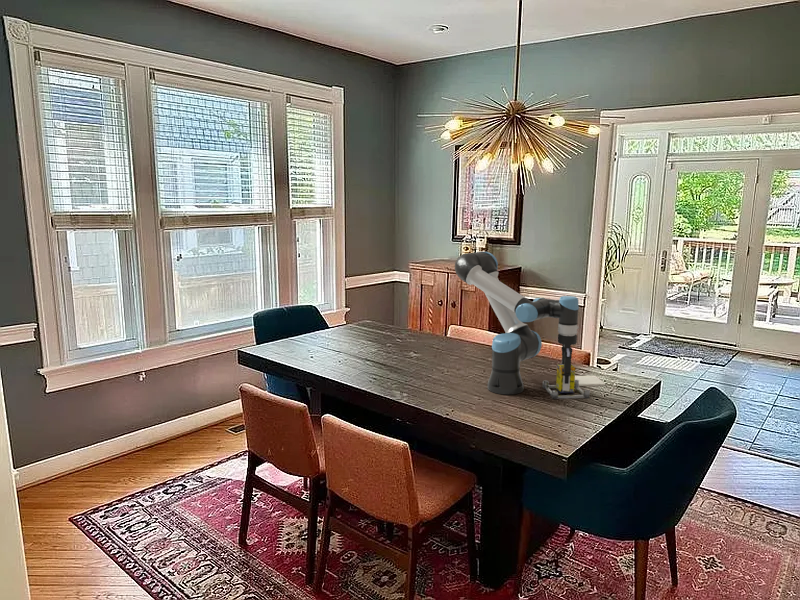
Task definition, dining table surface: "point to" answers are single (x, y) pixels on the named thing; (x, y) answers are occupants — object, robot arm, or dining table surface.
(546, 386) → the grey rod square frame
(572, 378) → the supplement box
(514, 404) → the dining table surface
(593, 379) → the plate
